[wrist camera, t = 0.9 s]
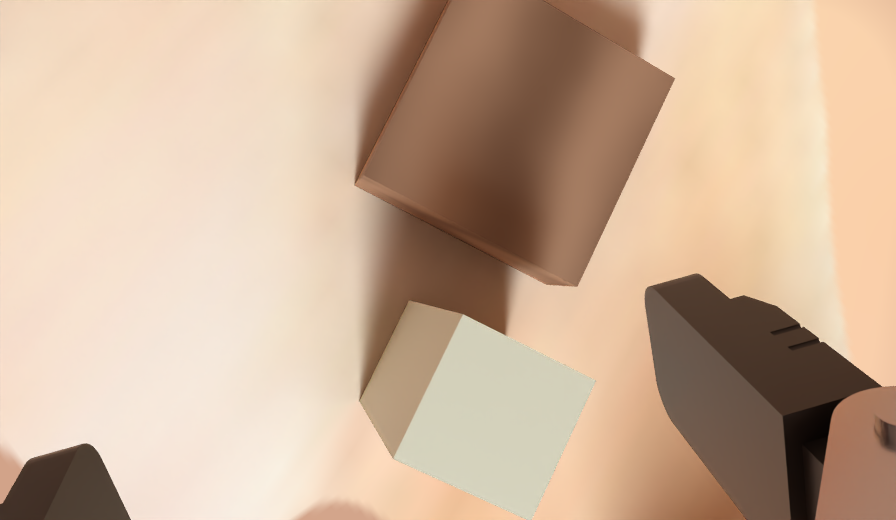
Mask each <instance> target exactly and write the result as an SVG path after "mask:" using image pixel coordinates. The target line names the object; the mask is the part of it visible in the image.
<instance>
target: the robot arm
mask: <svg viewBox="0 0 896 520" xmlns="http://www.w3.org/2000/svg"><path fill="white" fill-rule="evenodd" d="M645 307H646V314H647V321H648V328H649V334H650V341H651V348H652V354H653V361H654V368H655V375H656V381H657V386H658V390H659V393H660V396H661V399H662V402H663V405H664V407H665V409H666V412H667V413H668V415H669V417H670V419H671V421H672V422H673V424H674V425H675V426H676V428H677V429H678V430H679V431H680V433H681V434H682V435H683V437H684V438H685V439H686V441H687V442H688V443H689V445H690V446H691V447H692V449H693V450H694V451H695V452H696V454H697V455H698V456H699V458H700V459H701V460H702V462H703V463H704V464H705V466H706V467H707V468H708V470H709V471H710V472H711V473H712V475H713V476H714V477H715V479H716V480H717V481H718V483H719V484H720V485H721V487H722V488H723V489H724V490H725V492H726V493H727V494H728V496H729V497H730V498H731V500H732V501H733V502H734V504H735V505H736V506H737V508H738V509H739V510H740V511H741V513H742V514H743V515H744V517H745V518H746V519H747V520H896V386H890V387H882V386H881V385H879V384H878V383H877V382H875V381H874V380H873V379H871V378H870V377H869V376H868V375H866V374H865V373H864V372H862V371H861V370H860V369H858V368H857V367H856V366H854V365H853V364H852V363H851V362H849V361H848V360H847V359H845V358H844V357H843V356H841V355H840V354H839V353H837V352H836V351H835V350H834V349H832V348H831V347H830V346H828V345H827V344H826V343H824V342H821V343H820V341H819V338H818V337H816V336H815V335H814V334H813V333H811V332H810V331H809V330H807V329H806V328H805V327H803V328H801V327H800V324H799V323H798V322H797V321H795V320H794V319H793V318H792V317H790V316H789V315H788V314H786V313H785V312H784V311H782V310H781V309H780V308H778V307H777V306H774V305H771V304H768V303H765V302H762V301H759V300H756V299H753V298H750V297H747V296H744V295H743V296H740V297H736V298H733V299H729V298H728V297H727V296H726V295H725V294H723V293H722V292H721V291H720V290H719V289H717V288H716V287H715V286H714V285H713V284H711V283H710V282H709V281H708V280H706V279H705V278H704V277H703V276H701V275H700V274H693V275H689V276H685V277H682V278H678V279H675V280H671V281H668V282H664V283H660V284H657V285H653V286H650V287H648V288H647V289H646V291H645ZM0 520H131V519H130V517H129V515H128V513H127V511H126V509H125V507H124V505H123V502H122V500H121V498H120V496H119V494H118V492H117V490H116V488H115V486H114V484H113V482H112V480H111V477H110V475H109V473H108V471H107V469H106V467H105V465H104V463H103V461H102V459H101V457H100V455H99V453H98V452H97V450H96V449H95V448H94V447H93V446H91V445H90V444H81V445H77V446H74V447H70V448H67V449H63V450H59V451H56V452H52V453H49V454H45V455H42V456H38V457H34V458H32V459H30V460H28V461H27V463H26V464H25V465H24V467H23V469H22V471H21V472H20V474H19V476H18V478H17V479H16V482H15V483H14V485H13V486H12V488H11V490H10V492H9V494H8V495H7V497H6V499H5V501H4V502H3V503H2V504H0Z"/></svg>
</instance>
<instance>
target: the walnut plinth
mask: <svg viewBox="0 0 896 520" xmlns="http://www.w3.org/2000/svg"><path fill="white" fill-rule="evenodd" d="M674 80H675V78H673V77H672V76H670V75H668V74H667V73H665V72H663V71H662V70H660V69H658V68H657V67H655V66H653V65H651V64H650V63H648V62H646V61H645V60H643V59H641V58H640V57H638V56H636V55H635V54H633V53H631V52H630V51H628V50H626V49H624V48H623V47H621V46H619V45H618V44H616V43H614V42H613V41H611V40H609V39H608V38H606V37H604V36H602V35H601V34H599V33H597V32H596V31H594V30H592V29H591V28H589V27H587V26H586V25H584V24H582V23H581V22H579V21H577V20H575V19H574V18H572V17H570V16H569V15H567V14H565V13H564V12H562V11H560V10H559V9H557V8H555V7H553V6H552V5H550V4H548V3H547V2H545V1H543V0H448V2H447V4H446V6H445V8H444V10H443V12H442V14H441V16H440V17H439V19H438V21H437V23H436V25H435V27H434V29H433V31H432V33H431V35H430V37H429V39H428V41H427V43H426V45H425V47H424V49H423V51H422V53H421V55H420V57H419V59H418V61H417V63H416V65H415V67H414V69H413V71H412V73H411V75H410V77H409V79H408V81H407V83H406V85H405V87H404V88H403V90H402V92H401V94H400V96H399V98H398V100H397V102H396V104H395V106H394V108H393V110H392V112H391V114H390V116H389V118H388V120H387V122H386V124H385V126H384V128H383V130H382V132H381V134H380V136H379V138H378V140H377V142H376V144H375V146H374V148H373V150H372V152H371V154H370V156H369V158H368V159H367V161H366V163H365V165H364V167H363V169H362V171H361V173H360V175H359V177H358V179H357V181H356V183H355V186H357V187H359V188H361V189H363V190H365V191H367V192H369V193H371V194H373V195H374V196H376V197H378V198H380V199H382V200H384V201H386V202H388V203H390V204H392V205H394V206H396V207H398V208H400V209H401V210H403V211H405V212H407V213H409V214H411V215H413V216H415V217H417V218H419V219H421V220H423V221H425V222H427V223H429V224H430V225H432V226H434V227H436V228H438V229H440V230H442V231H444V232H446V233H448V234H450V235H452V236H454V237H456V238H457V239H459V240H461V241H463V242H465V243H467V244H469V245H471V246H473V247H475V248H477V249H479V250H481V251H483V252H484V253H486V254H488V255H490V256H492V257H494V258H496V259H498V260H500V261H502V262H504V263H506V264H508V265H510V266H511V267H513V268H515V269H517V270H519V271H521V272H523V273H525V274H527V275H529V276H531V277H533V278H535V279H537V280H538V281H540V282H542V283H544V284H546V285H561V286H576V287H577V286H578V284H579V282H580V280H581V278H582V276H583V273H584V271H585V269H586V267H587V265H588V263H589V261H590V258H591V256H592V254H593V252H594V250H595V248H596V246H597V244H598V241H599V239H600V237H601V235H602V233H603V231H604V229H605V227H606V224H607V222H608V220H609V218H610V216H611V214H612V212H613V209H614V207H615V205H616V203H617V201H618V199H619V197H620V195H621V192H622V190H623V188H624V186H625V184H626V182H627V180H628V178H629V175H630V173H631V171H632V169H633V167H634V165H635V163H636V160H637V158H638V156H639V154H640V152H641V150H642V148H643V146H644V143H645V141H646V139H647V137H648V135H649V133H650V131H651V129H652V126H653V124H654V122H655V120H656V118H657V116H658V114H659V111H660V109H661V107H662V105H663V103H664V101H665V99H666V97H667V94H668V92H669V90H670V88H671V86H672V84H673V82H674Z"/></svg>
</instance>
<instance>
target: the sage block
mask: <svg viewBox="0 0 896 520" xmlns="http://www.w3.org/2000/svg"><path fill="white" fill-rule="evenodd" d="M595 382H596V380H594V379H592V378H590V377H588V376H586V375H584V374H582V373H580V372H578V371H576V370H574V369H572V368H570V367H568V366H566V365H564V364H562V363H560V362H558V361H556V360H554V359H552V358H550V357H548V356H546V355H544V354H542V353H540V352H538V351H536V350H534V349H532V348H530V347H528V346H526V345H524V344H522V343H520V342H518V341H516V340H514V339H512V338H510V337H508V336H506V335H504V334H502V333H500V332H498V331H496V330H494V329H492V328H490V327H488V326H486V325H484V324H482V323H480V322H478V321H476V320H474V319H472V318H470V317H468V316H466V315H464V314H460V313H456V312H453V311H449V310H445V309H441V308H437V307H433V306H429V305H426V304H422V303H418V302H414V301H410V300H409V301H408V303H407V305H406V307H405V309H404V311H403V313H402V316H401V318H400V320H399V322H398V324H397V326H396V328H395V330H394V332H393V334H392V336H391V338H390V340H389V342H388V344H387V346H386V348H385V350H384V352H383V354H382V356H381V358H380V360H379V362H378V364H377V366H376V368H375V370H374V372H373V374H372V377H371V379H370V381H369V383H368V385H367V387H366V389H365V391H364V393H363V395H362V397H361V399H360V403H361V405H362V406H363V408H364V410H365V412H366V413H367V415H368V417H369V418H370V420H371V422H372V424H373V425H374V427H375V429H376V430H377V432H378V434H379V436H380V437H381V439H382V441H383V442H384V444H385V446H386V448H387V449H388V451H389V453H390V454H391V456H392V458H393V459H394V460H397V461H399V462H401V463H403V464H405V465H408V466H410V467H412V468H414V469H416V470H419V471H421V472H423V473H425V474H427V475H430V476H432V477H434V478H436V479H438V480H440V481H443V482H445V483H447V484H449V485H451V486H454V487H456V488H458V489H460V490H462V491H465V492H467V493H469V494H471V495H473V496H476V497H478V498H480V499H482V500H484V501H487V502H489V503H491V504H493V505H495V506H498V507H500V508H502V509H504V510H506V511H509V512H511V513H513V514H515V515H517V516H520V517H522V518H524V519H526V520H532V518H533V516H534V514H535V512H536V510H537V507H538V505H539V503H540V501H541V499H542V497H543V494H544V492H545V490H546V488H547V486H548V484H549V481H550V479H551V477H552V475H553V473H554V471H555V468H556V466H557V464H558V462H559V460H560V458H561V455H562V453H563V451H564V449H565V447H566V444H567V442H568V440H569V438H570V436H571V434H572V431H573V429H574V427H575V425H576V423H577V421H578V418H579V416H580V414H581V412H582V410H583V408H584V405H585V403H586V401H587V399H588V397H589V395H590V392H591V390H592V388H593V386H594V384H595Z"/></svg>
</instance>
